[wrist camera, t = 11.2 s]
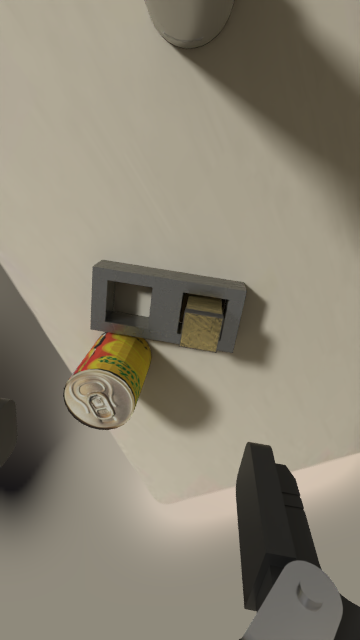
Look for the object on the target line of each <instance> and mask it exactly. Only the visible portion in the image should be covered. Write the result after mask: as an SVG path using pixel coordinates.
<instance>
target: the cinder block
mask: <svg viewBox="0 0 360 640" xmlns="http://www.w3.org/2000/svg"><path fill="white" fill-rule="evenodd" d="M115 281H116V282H122V283H129V284H135V285H141V286H147V287H153V289H152V298H151V307H150V316H149V317H144V316H138V315H132V314H126V313H120V312H114V311H113V306H114V290H115ZM184 293H190V294H197V295H203V296H209V297H215V298H221V299H226V301H225V305H224V310H223V316H224V319H223V324H222V329H221V333H220V338H219V343H218V347H217V350H218V351H224V352H230V353H233V349H234V345H235V340H236V336H237V332H238V327H239V323H240V319H241V314H242V310H243V306H244V301H245V297H246V293H247V290H246V287H245V284H244V282H238V281H231V280H225V279H219V278H213V277H206V276H200V275H194V274H188V273H182V272H175V271H169V270H163V269H157V268H150V267H144V266H138V265H132V264H125V263H119V262H113V261H107V260H101V261H100V262H98V263H97V264H96V265H94V266H93V274H92V302H91V329H92V330H98V331H104V332H110V333H116V334H122V335H128V336H134V337H140V338H146V339H152V340H158V341H164V342H170V343H176V344H179V343H180V337H181V331H182V325H183V323H180V316H181V309H182V302H183V296H184Z"/></svg>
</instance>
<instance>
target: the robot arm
mask: <svg viewBox="0 0 360 640" xmlns="http://www.w3.org/2000/svg"><path fill="white" fill-rule="evenodd" d="M144 1H145V4H146V6H147V9H148V12H149V14H150V17H151V19H152V21H153V24H154V26H155V27H156V29H157V30H158V32H159V33H160V35H161V36H163V37H164V38H165V39H166V40H167V41H168V42H170V43H172V44H173V45H175V46H178V47H182V48H195V47H199V46H202V45H204V44H206V43H208V42H210V41H211V40H212V39H213V38H214V37H216V36H217V35H218V34H219V32H220V31H221V30H222V29H223V27H224V26H225V24H226V22H227V20H228V18H229V16H230V13H231V10H232V7H233V2H234V0H144ZM17 436H18V435H17V420H16V406H15V402H14V401H13V400H9V399H3V398H0V468H1V467H2V465H3V464H4V462H5V461H6V460H7V459H8V457H9V456H10V455H11V453H12V451H13V450H14V447H15V445H16V442H17ZM236 502H237V515H238V529H239V542H240V555H241V567H242V581H243V594H244V608H245V609H248V610H253V611H257V614H256V616H255V617H254V619H253V621H252V622H251V624H250V626H249V627H248V629H247V631H246V632H245V634H244V635H243V637H242V638H241V639H239V640H360V607H359V606H357V605H355V604H354V603H352V602H350V601H348V600H347V599H346V598H345V597H343V596H342V595H341V594H340V593H339V592H338V590H337V588H336V586H335V584H334V583H333V582H332V580H331V579H330V578H329V577H328V575H327V574H326V573H324V572H323V571H322V569H321V567H320V564H319V561H318V557H317V554H316V550H315V547H314V543H313V539H312V536H311V532H310V529H309V525H308V522H307V518H306V515H305V512H304V510H303V509H304V507H303V504H302V501H301V498H300V493H299V490H298V486H297V483H296V479H295V478H294V477H293V475H292V474H291V472H290V471H289V469H288V468H287V467H286V465H282V464H276V463H275V460H274V456H273V451H272V448H271V446H269V445H263V444H257V443H252V442H248V443H247V444H246V447H245V451H244V454H243V458H242V461H241V465H240V468H239V472H238V476H237V482H236Z"/></svg>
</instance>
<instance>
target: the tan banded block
mask: <svg viewBox="0 0 360 640" xmlns="http://www.w3.org/2000/svg"><path fill="white" fill-rule="evenodd" d="M223 319H224V316H223V314H222V303H221V298H215V297H209V296H203V295H197V294H190V293H189V298H188V302H187V307H186V308H185V312H184V319H183V325H182V331H181V337H180V343H179V346H180V347H186V348H192V349H198V350H204V351H209V352H215V353H216V352H217V347H218V343H219V338H220V333H221V329H222V324H223Z"/></svg>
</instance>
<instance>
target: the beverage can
mask: <svg viewBox="0 0 360 640" xmlns="http://www.w3.org/2000/svg"><path fill="white" fill-rule="evenodd" d="M150 362H151V350H150V348H149V345H148V344H147V342H146V341H145V339H144V338H140V337H134V336H128V335H122V334H116V333H110V332H105V333H104V334H102V336H101V337H100V338H99V339H98V340H97V342H96V343H95V344H94V346H93V347H92V348H91V350H90V351H89V352H88V354H87V355H86V357H85V358H84V359H83V361H82V362H81V363H80V365H79V366H78V368H77V369H76V370H75V372H74V373H73V374H72V376H71V377H70V378H69V380H68V381H67V383H66V385H65V388H64V395H63V397H64V402H65V405H66V407H67V409H68V411H69V412H70V413H71V414H72V416H73V417H74V418H75V419H77V420H78V421H79V422H81V423H82V424H84V425H86V426H88V427H91V428H95V429H99V430H110V429H115V428H118V427H120V426H122V425H124V424H125V423H126V422H127V421H128V420H129V419H130V418H131V416H132V414H133V412H134V409H135V406H136V404H137V401H138V398H139V395H140V392H141V389H142V386H143V383H144V380H145V377H146V375H147V372H148V369H149V366H150Z"/></svg>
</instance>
